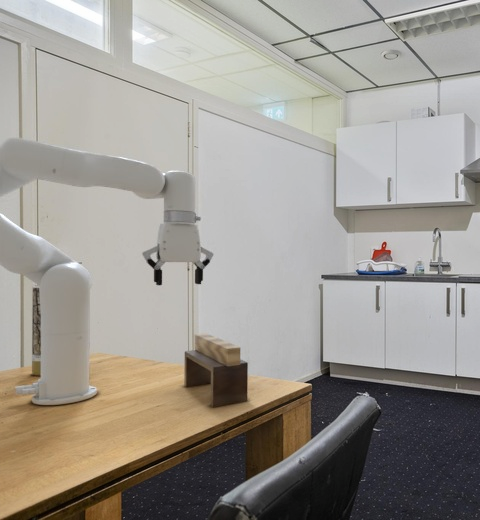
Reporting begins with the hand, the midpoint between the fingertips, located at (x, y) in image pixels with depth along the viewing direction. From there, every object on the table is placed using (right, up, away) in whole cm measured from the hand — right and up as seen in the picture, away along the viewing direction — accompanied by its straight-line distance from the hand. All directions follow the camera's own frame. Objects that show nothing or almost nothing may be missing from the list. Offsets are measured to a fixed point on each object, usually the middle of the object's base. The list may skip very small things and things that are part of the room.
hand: (178, 284), depth 122 cm
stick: (+12, -18, -7) cm, 22 cm away
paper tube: (-42, -26, +10) cm, 50 cm away
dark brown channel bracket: (+12, -27, -7) cm, 30 cm away
